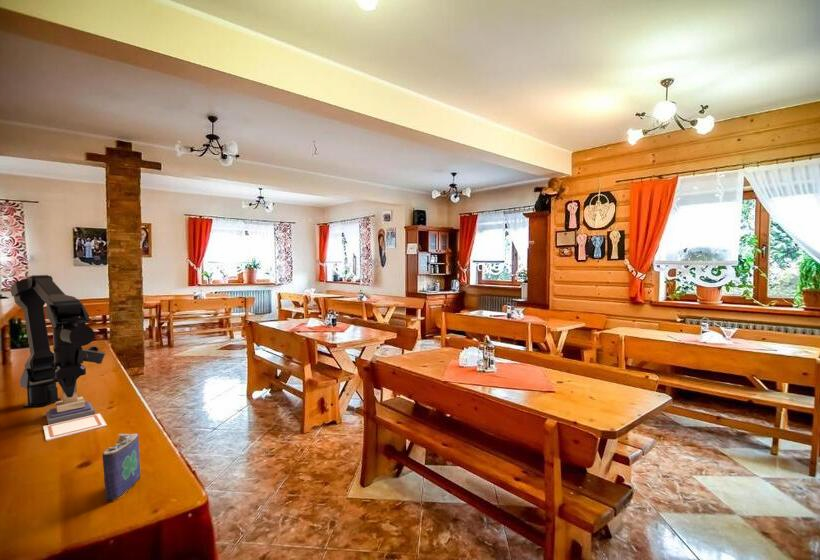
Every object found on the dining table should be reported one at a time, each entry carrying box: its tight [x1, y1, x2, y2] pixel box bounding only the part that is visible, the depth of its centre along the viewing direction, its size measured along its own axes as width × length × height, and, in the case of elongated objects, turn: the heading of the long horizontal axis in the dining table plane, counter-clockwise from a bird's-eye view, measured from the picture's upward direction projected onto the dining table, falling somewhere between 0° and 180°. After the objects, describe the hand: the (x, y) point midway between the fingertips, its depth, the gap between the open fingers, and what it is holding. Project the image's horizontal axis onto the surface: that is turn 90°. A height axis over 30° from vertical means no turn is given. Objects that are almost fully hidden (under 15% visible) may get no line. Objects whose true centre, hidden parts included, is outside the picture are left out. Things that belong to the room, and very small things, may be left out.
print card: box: [42, 413, 108, 442], centre depth 104 cm, size 12×12×1 cm
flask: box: [101, 433, 142, 503], centre depth 75 cm, size 9×3×11 cm, turn 8°
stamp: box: [55, 380, 86, 414], centre depth 113 cm, size 6×6×8 cm
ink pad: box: [45, 400, 96, 425], centre depth 113 cm, size 10×10×2 cm
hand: (69, 395), depth 113 cm, fingers closed on stamp, 3 cm apart
